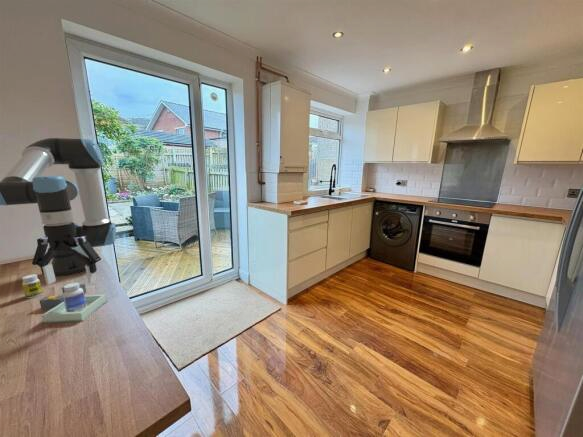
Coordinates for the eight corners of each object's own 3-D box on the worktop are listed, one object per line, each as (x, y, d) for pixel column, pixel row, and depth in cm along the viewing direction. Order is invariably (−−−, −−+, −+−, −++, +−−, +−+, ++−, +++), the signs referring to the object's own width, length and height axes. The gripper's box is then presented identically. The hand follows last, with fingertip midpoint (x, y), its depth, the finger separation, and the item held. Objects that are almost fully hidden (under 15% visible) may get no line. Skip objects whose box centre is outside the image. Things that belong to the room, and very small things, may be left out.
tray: (73, 303, 90) (72, 296, 90) (107, 301, 91) (106, 294, 91) (43, 323, 78) (41, 315, 78) (82, 321, 79) (80, 313, 79)
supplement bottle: (31, 299, 94) (26, 279, 92) (22, 298, 95) (17, 278, 93) (45, 293, 98) (41, 274, 97) (37, 292, 99) (32, 273, 98)
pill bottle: (90, 307, 86) (85, 282, 84) (72, 315, 81) (67, 289, 79) (80, 304, 88) (76, 280, 86) (62, 312, 83) (57, 287, 81)
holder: (68, 292, 98) (66, 283, 97) (86, 291, 99) (84, 283, 98) (41, 309, 87) (38, 299, 86) (61, 307, 87) (59, 298, 86)
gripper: (5, 227, 74) (22, 288, 78) (90, 225, 76) (102, 285, 80) (29, 221, 81) (44, 278, 86) (106, 220, 83) (116, 275, 87)
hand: (72, 282), depth 83 cm, fingers open, 13 cm apart
